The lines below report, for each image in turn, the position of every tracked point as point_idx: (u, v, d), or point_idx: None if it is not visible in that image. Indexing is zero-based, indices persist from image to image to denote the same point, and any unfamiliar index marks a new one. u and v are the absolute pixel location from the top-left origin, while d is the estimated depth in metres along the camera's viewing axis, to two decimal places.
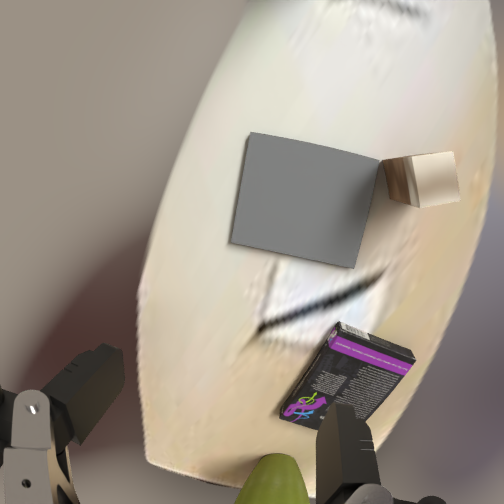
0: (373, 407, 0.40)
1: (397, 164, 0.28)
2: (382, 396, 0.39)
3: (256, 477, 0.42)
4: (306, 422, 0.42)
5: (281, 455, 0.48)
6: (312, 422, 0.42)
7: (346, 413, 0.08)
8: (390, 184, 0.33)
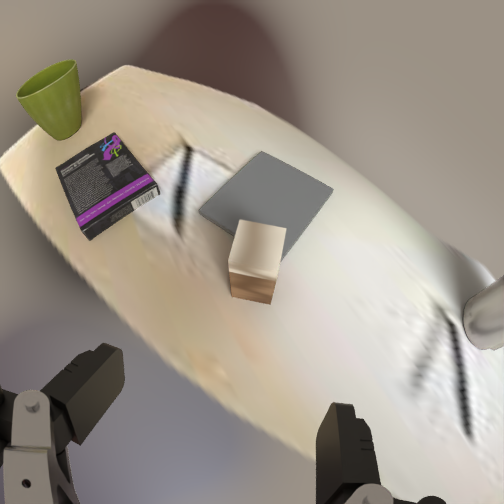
0: (68, 189, 0.43)
1: None
2: (72, 197, 0.42)
3: (79, 98, 0.50)
4: (96, 145, 0.49)
5: (73, 131, 0.54)
6: (92, 148, 0.48)
7: (346, 413, 0.08)
8: None
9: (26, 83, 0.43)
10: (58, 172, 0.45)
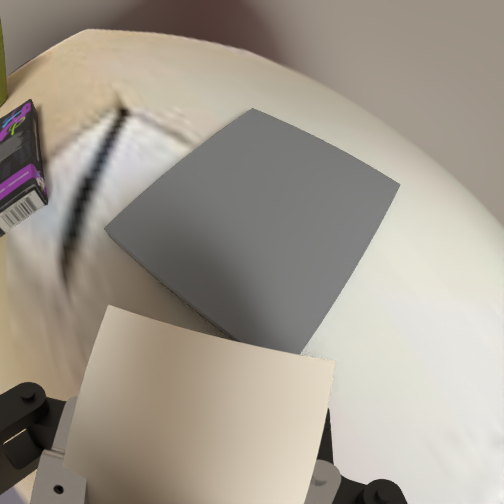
0: None
1: None
2: None
3: None
4: (2, 119, 0.23)
5: None
6: None
7: None
8: None
9: None
10: None
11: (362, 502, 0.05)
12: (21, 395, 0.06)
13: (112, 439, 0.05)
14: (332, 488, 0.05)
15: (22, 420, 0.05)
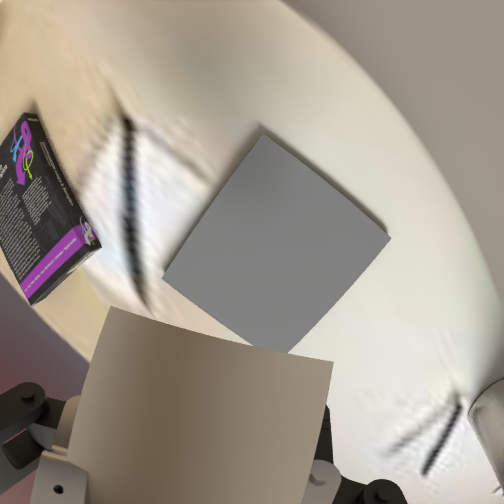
0: None
1: None
2: (5, 249, 0.28)
3: None
4: (7, 145, 0.24)
5: None
6: (4, 152, 0.25)
7: None
8: None
9: None
10: None
11: (362, 502, 0.05)
12: (21, 395, 0.06)
13: (114, 437, 0.05)
14: (332, 488, 0.05)
15: (22, 420, 0.05)
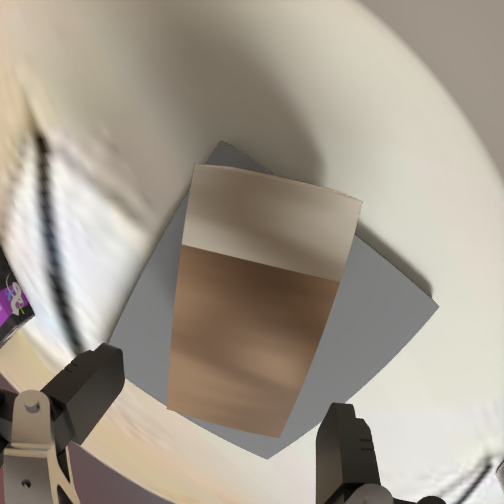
0: None
1: None
2: None
3: None
4: None
5: None
6: None
7: (346, 413, 0.08)
8: None
9: None
10: None
11: None
12: None
13: (241, 170, 0.10)
14: None
15: None
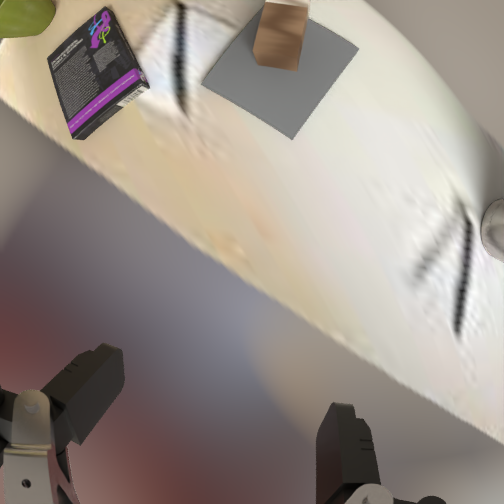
0: (59, 86, 0.34)
1: None
2: (63, 97, 0.35)
3: None
4: (85, 26, 0.31)
5: (49, 20, 0.33)
6: (81, 31, 0.31)
7: (346, 413, 0.08)
8: None
9: None
10: (49, 64, 0.33)
11: None
12: None
13: None
14: None
15: None
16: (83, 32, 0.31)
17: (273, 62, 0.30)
